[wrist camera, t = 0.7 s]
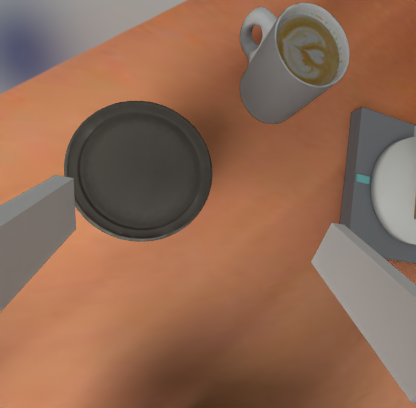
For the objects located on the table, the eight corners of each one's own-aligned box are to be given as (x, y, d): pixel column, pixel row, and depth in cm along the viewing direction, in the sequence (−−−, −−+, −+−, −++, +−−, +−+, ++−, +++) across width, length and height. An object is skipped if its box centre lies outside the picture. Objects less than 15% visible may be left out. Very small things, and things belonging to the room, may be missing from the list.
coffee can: (103, 155, 28) (54, 100, 15) (182, 150, 31) (203, 99, 17) (112, 235, 28) (72, 253, 14) (191, 223, 31) (220, 230, 17)
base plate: (442, 266, 41) (458, 269, 39) (336, 250, 36) (348, 252, 34) (449, 145, 43) (465, 141, 41) (351, 112, 38) (363, 106, 36)
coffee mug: (307, 104, 36) (363, 63, 26) (263, 135, 34) (307, 103, 24) (262, 32, 35) (304, -38, 25) (214, 60, 33) (239, -6, 23)
